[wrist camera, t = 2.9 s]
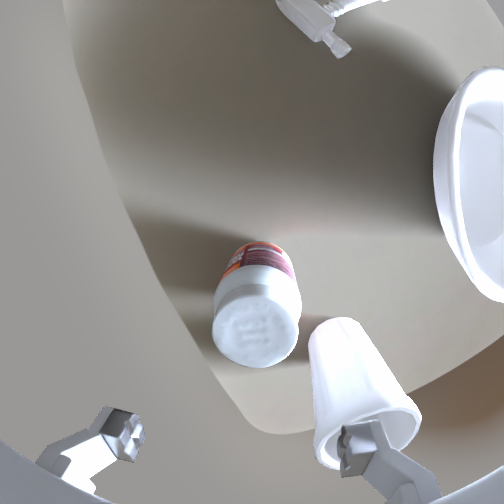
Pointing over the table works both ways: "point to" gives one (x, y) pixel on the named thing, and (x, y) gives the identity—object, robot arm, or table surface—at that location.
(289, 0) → the hammer
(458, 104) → the bowl
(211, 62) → the table surface
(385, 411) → the cup
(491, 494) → the robot arm
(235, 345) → the pill bottle
